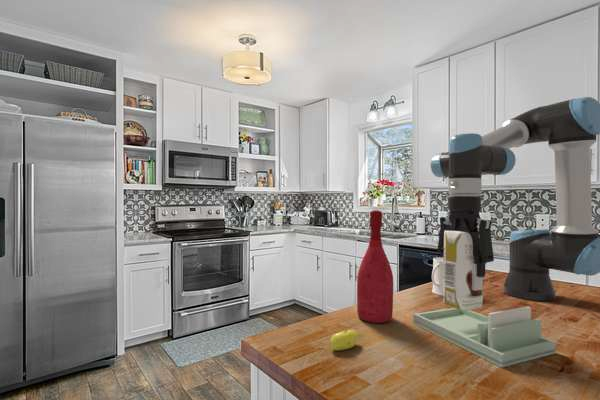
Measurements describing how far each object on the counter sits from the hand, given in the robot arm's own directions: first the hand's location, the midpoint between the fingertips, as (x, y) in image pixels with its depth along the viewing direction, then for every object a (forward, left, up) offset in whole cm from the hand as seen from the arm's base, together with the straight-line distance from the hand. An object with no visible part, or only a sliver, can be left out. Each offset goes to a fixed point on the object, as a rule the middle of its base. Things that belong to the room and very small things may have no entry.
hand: (462, 285), depth 85 cm
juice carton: (0, 0, -5) cm, 5 cm away
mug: (-21, -27, -12) cm, 36 cm away
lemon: (+33, -2, -12) cm, 35 cm away
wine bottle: (+16, -15, -12) cm, 25 cm away
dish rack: (0, +4, -11) cm, 12 cm away
